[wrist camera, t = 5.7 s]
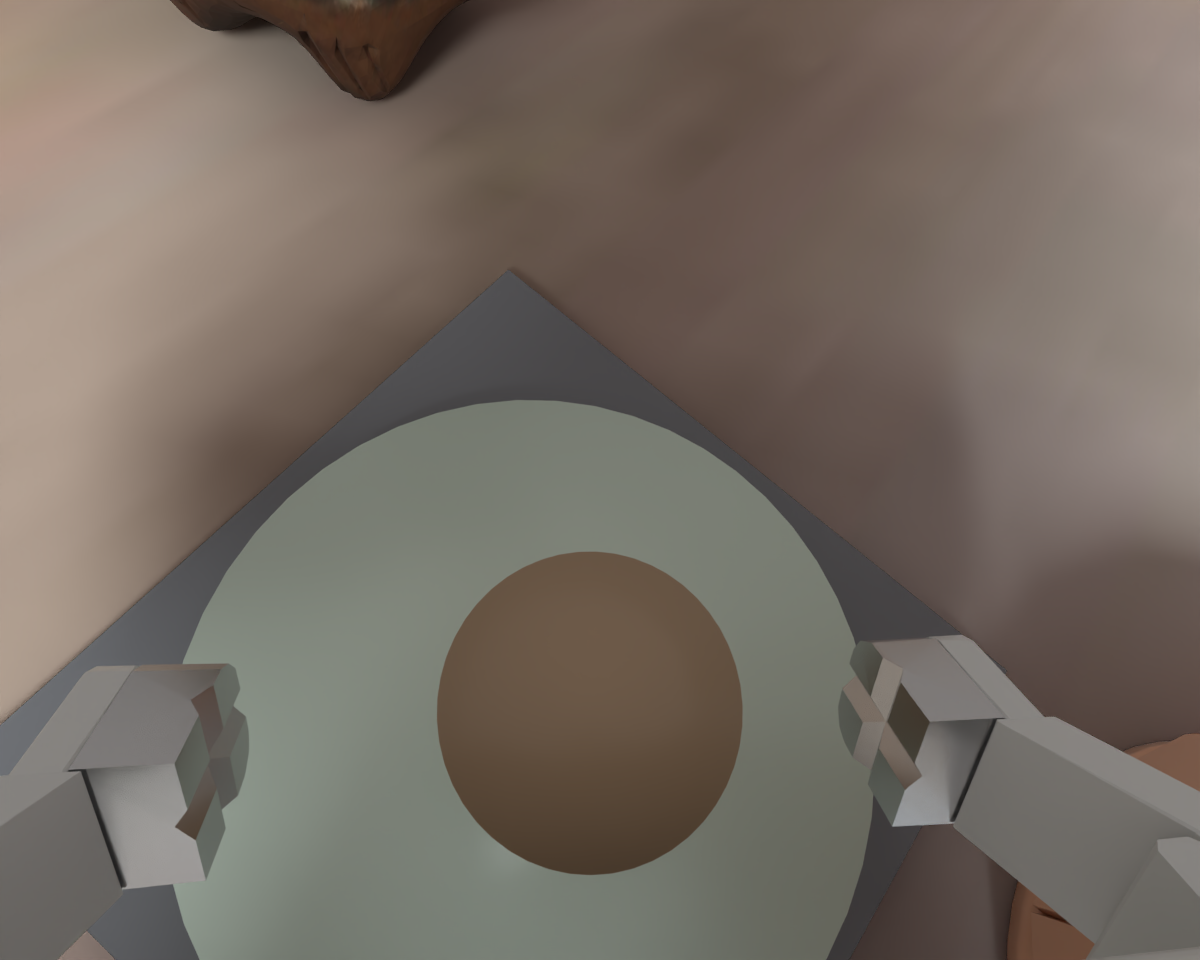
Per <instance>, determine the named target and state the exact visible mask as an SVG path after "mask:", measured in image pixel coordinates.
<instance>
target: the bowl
mask: <svg viewBox="0 0 1200 960" xmlns="http://www.w3.org/2000/svg"><path fill="white" fill-rule="evenodd" d="M1122 752H1124V753H1126V754H1128V755H1130V756H1132V757H1134V758H1136V759H1138V760H1140V761H1142V762H1143V763H1145V764H1147V765H1149V766H1151V767H1153V768H1155V769H1157V770H1159V771H1161V772H1163V773H1165V774H1167V775H1169V776H1170V777H1172V778H1174V779H1176V780H1178V781H1180V782H1182V783H1184V784H1186V785H1188V786H1190V787H1192V788H1194V789H1196V790H1197V791H1199V792H1200V733H1190V734H1184V735H1182V736H1180V737H1178V738H1176V739H1174V740H1172V741H1159V742H1154V743H1150V744H1145V745H1140V746H1136V747H1132V748H1130V749H1127V750H1125V751H1122ZM1094 945H1095V944H1094V943H1093V942H1092V941H1091V940H1089V939H1088V938H1087V937H1086V936H1085V935H1083V934H1082V933H1081V932H1080V931H1079V930H1077V929H1076V928H1075V927H1074V926H1072V925H1071V924H1070V923H1069V922H1068V921H1066V920H1065V919H1064V918H1063V917H1062V916H1060V915H1059V914H1058V913H1057V912H1055V911H1054V910H1053V909H1052V908H1051V907H1049V906H1048V905H1047V904H1046V903H1045V902H1043V901H1042V900H1041V899H1040V898H1038V897H1037V896H1036V895H1035V894H1034V893H1032V892H1031V891H1030V890H1029V889H1028V888H1026V887H1025V886H1024V885H1023V884H1021V883H1020V882H1019V881H1018V883H1017V887H1016V891H1015V895H1014V898H1013V902H1012V909H1011V917H1010V924H1009V932H1008V940H1007V960H1086V958H1087V956H1088V955H1089V953H1090V951H1091V950H1092V948H1093V946H1094Z"/></svg>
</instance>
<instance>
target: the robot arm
mask: <svg viewBox="0 0 1200 960" xmlns="http://www.w3.org/2000/svg"><path fill="white" fill-rule="evenodd" d="M849 664H850V666H851V667H852V669H853V671H854V673H855V674H856V676H855V677H854V678H853V679H852V680H851V681H850V682H849V683H847V684H846V685H845V686H844V687H843V688H842V692H841V696H840V700H839V705H838V715H839V727H840V730H841V733H842V737H843V740H844V743H845V744H846V746H847V748H848V750H849V752H850V754H851V755H852V757H853V758H854V759H856V760H857V761H859V762H860V763H862V764H863V765H864V766H866V767H867V768H869V769H870V770H871V771H870V776H869V781H868V785H869V787H870V789H871V791H872V792H873V794H874V796H875V798H876V799H877V801H878V803H879V805H880V806H881V808H882V810H883V811H884V813H885V815H886V817H887V818H888V820H889V822H890V824H891V825H892V827H894V826H915V825H935V824H954V825H953V828H955V829H956V830H957V831H958V832H960V833H961V834H962V835H963V836H964V837H966V838H967V839H968V840H969V841H970V842H972V843H973V844H974V845H975V846H977V847H978V848H979V849H980V850H981V851H983V852H984V853H985V854H986V855H987V856H989V857H990V858H991V859H992V860H994V861H995V862H996V863H997V864H998V865H1000V866H1001V867H1002V868H1003V869H1004V870H1006V871H1007V872H1008V873H1009V874H1011V875H1012V876H1013V877H1014V878H1015V879H1017V880H1018V881H1019V882H1020V883H1021V884H1023V885H1024V886H1025V887H1026V888H1028V889H1029V890H1030V891H1031V892H1032V893H1034V894H1035V895H1036V896H1037V897H1038V898H1040V899H1041V900H1042V901H1043V902H1045V903H1046V904H1047V905H1048V906H1049V907H1051V908H1052V909H1053V910H1054V911H1055V912H1057V913H1058V914H1059V915H1060V916H1062V917H1063V918H1064V919H1065V920H1066V921H1068V922H1069V923H1070V924H1071V925H1072V926H1074V927H1075V928H1076V929H1077V930H1079V931H1080V932H1081V933H1082V934H1083V935H1085V936H1086V937H1087V938H1088V939H1089V940H1091V941H1092V942H1093V943H1094V944H1095V945H1094V946H1093V948H1092V950H1091V951H1090V953H1089V955H1088V956H1087V958H1086V960H1200V792H1199V791H1197V790H1196V789H1194V788H1192V787H1190V786H1188V785H1186V784H1184V783H1182V782H1180V781H1178V780H1176V779H1174V778H1172V777H1170V776H1169V775H1167V774H1165V773H1163V772H1161V771H1159V770H1157V769H1155V768H1153V767H1151V766H1149V765H1147V764H1145V763H1143V762H1142V761H1140V760H1138V759H1136V758H1134V757H1132V756H1130V755H1128V754H1126V753H1124V752H1122V751H1120V750H1118V749H1116V748H1115V747H1113V746H1111V745H1109V744H1107V743H1105V742H1103V741H1101V740H1099V739H1097V738H1095V737H1093V736H1091V735H1089V734H1088V733H1086V732H1084V731H1082V730H1080V729H1078V728H1076V727H1074V726H1072V725H1070V724H1068V723H1066V722H1064V721H1062V720H1061V719H1059V718H1057V717H1044V716H1043V715H1042V714H1041V713H1040V712H1039V711H1038V710H1037V709H1036V708H1035V706H1034V705H1033V704H1032V703H1031V702H1030V701H1029V700H1028V699H1027V698H1026V697H1025V696H1024V695H1023V694H1022V693H1021V691H1020V690H1019V689H1018V688H1017V687H1016V686H1015V685H1014V684H1013V683H1012V682H1011V681H1010V680H1009V679H1008V678H1007V676H1006V675H1005V674H1004V673H1003V672H1002V671H1001V670H1000V669H999V668H998V667H997V666H996V665H995V664H994V663H993V661H992V660H991V659H990V658H989V657H988V656H987V655H986V654H985V653H984V652H983V651H982V650H981V649H980V648H979V646H978V645H977V644H976V643H975V642H974V641H973V640H971V639H969V638H967V637H965V636H963V635H950V636H933V637H927V638H908V639H885V640H862V641H860V642H859V643H858V644H857V645H856V647H855V648H854V649H853V653H852V656H851V659H850V663H849ZM239 691H240V685H239V681H238V677H237V673H236V668H235V667H233V666H232V665H230V664H229V663H224V664H158V665H141V666H96V667H94V668H93V669H91V670H89V671H87V672H85V673H84V674H83V675H82V677H81V678H80V679H79V681H78V682H77V683H76V685H75V686H74V687H73V689H72V690H71V691H70V693H69V694H68V695H67V697H66V698H65V700H64V701H63V702H62V704H61V705H60V706H59V708H58V709H57V710H56V712H55V713H54V714H53V716H52V717H51V718H50V720H49V721H48V723H47V724H46V725H45V727H44V728H43V729H42V731H41V732H40V733H39V735H38V736H37V737H36V739H35V740H34V741H33V743H32V744H31V745H30V747H29V748H28V750H27V751H26V752H25V754H24V755H23V756H22V758H21V759H20V760H19V762H18V763H17V764H16V766H15V767H14V768H13V770H12V771H11V773H10V774H9V775H3V776H0V960H57V959H58V958H59V957H60V956H61V955H62V954H63V953H64V952H65V951H66V950H67V949H68V948H69V947H70V946H71V945H72V944H73V943H74V942H75V941H76V940H77V939H78V938H79V937H81V936H82V935H83V934H84V933H85V932H86V931H87V930H88V929H89V928H90V927H91V926H92V925H93V924H94V923H95V922H96V921H97V920H98V919H99V918H100V917H101V916H102V915H103V914H104V913H105V912H106V911H107V910H108V909H109V908H110V907H111V906H112V905H113V904H114V903H115V902H116V901H117V900H118V899H119V898H120V897H121V896H122V895H123V891H122V890H123V889H132V888H141V887H151V886H160V885H170V884H179V883H189V882H198V881H206V879H207V877H208V874H209V871H210V869H211V866H212V863H213V861H214V858H215V856H216V853H217V850H218V848H219V845H220V842H221V840H222V837H223V834H224V832H225V829H226V827H225V823H224V818H223V814H222V809H223V808H224V807H225V806H226V805H228V804H229V803H230V802H231V801H232V800H234V799H235V798H236V797H237V796H238V794H239V791H240V788H241V786H242V783H243V780H244V777H245V773H246V767H247V761H248V755H249V730H248V725H247V719H246V716H245V715H244V714H242V713H241V712H240V711H239V710H238V709H236V708H235V707H234V706H233V705H234V703H235V700H236V698H237V696H238V693H239Z"/></svg>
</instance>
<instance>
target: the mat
mask: <svg viewBox="0 0 1200 960" xmlns="http://www.w3.org/2000/svg"><path fill="white" fill-rule="evenodd" d="M512 400H543V401H562V402H569V403H576V404H584V405H591V406H597V407H601V408H604V409H608V410H612V411H616V412H620V413H624V414H627V415H631V416H634V417H637V418H640V419H642V420H645V421H647V422H650V423H652V424H655V425H657V426H660V427H663V428H665V429H668V430H670V431H672V432H674V433H676V434H677V435H679V436H681V437H683V438H685V439H687V440H689V441H691V442H692V443H694V444H696V445H698V446H700V447H702V448H704V449H705V450H707V451H708V452H709V453H711V454H712V455H714V456H715V457H717V458H718V459H720V460H721V461H722V462H724V463H725V464H727V465H728V466H730V467H731V468H733V469H734V470H735V471H737V472H738V473H739V474H740V475H741V476H742V477H744V478H745V479H746V480H747V481H748V482H749V483H750V484H751V485H753V486H754V487H755V488H756V489H757V490H758V491H759V492H761V493H762V494H763V495H764V496H765V497H766V498H767V499H768V500H769V501H770V502H771V503H772V505H773V506H774V507H775V508H776V509H777V510H778V511H779V512H780V513H781V515H782V516H783V517H784V518H785V519H786V520H787V521H788V522H789V523H790V525H791V526H792V527H793V528H794V529H795V531H796V532H797V534H798V535H799V536H800V538H801V539H802V541H803V542H804V543H805V545H806V546H807V548H808V549H809V551H810V552H811V553H812V555H813V556H814V558H815V559H816V560H817V562H818V564H819V566H820V567H821V569H822V571H823V573H824V575H825V577H826V578H827V580H828V582H829V584H830V586H831V587H832V589H833V591H834V593H835V595H836V596H837V599H838V601H839V603H840V606H841V608H842V611H843V613H844V615H845V618H846V620H847V623H848V625H849V628H850V630H851V632H852V635H853V637H854V641H855V644H856V645H857V644H858V643H859V642H860V641H862V640H885V639H908V638H927V637H933V636H950V635H962V634H961V633H960V632H958V631H957V630H956V629H955V628H954V627H952V626H951V625H950V624H949V623H947V622H946V621H945V620H944V619H942V618H941V617H940V616H939V615H937V614H936V613H935V612H934V611H932V610H931V609H930V608H929V607H927V606H926V605H925V604H924V603H922V602H921V601H920V600H919V599H917V598H916V597H915V596H914V595H912V594H911V593H910V592H909V591H907V590H906V589H905V588H904V587H903V586H901V585H900V584H899V583H898V582H896V581H895V580H894V579H893V578H891V577H890V576H889V575H888V574H886V573H885V572H884V571H883V570H881V569H880V568H879V567H878V566H876V565H875V564H874V563H873V562H871V561H870V560H869V559H868V558H866V557H865V556H864V555H863V554H861V553H860V552H859V551H858V550H856V549H855V548H854V547H853V546H851V545H850V544H849V543H848V542H847V541H845V540H844V539H843V538H842V537H840V536H839V535H838V534H837V533H835V532H834V531H833V530H832V529H830V528H829V527H828V526H827V525H825V524H824V523H823V522H822V521H820V520H819V519H818V518H817V517H815V516H814V515H813V514H812V513H810V512H809V511H808V510H807V509H805V508H804V507H803V506H802V505H800V504H799V503H798V502H797V501H796V500H794V499H793V498H792V497H791V496H789V495H788V494H787V493H786V492H784V491H783V490H782V489H781V488H779V487H778V486H777V485H776V484H774V483H773V482H772V481H771V480H769V479H768V478H767V477H766V476H764V475H763V474H762V473H761V472H759V471H758V470H757V469H756V468H754V467H753V466H752V465H751V464H749V463H748V462H747V461H746V460H745V459H743V458H742V457H741V456H740V455H738V454H737V453H736V452H735V451H733V450H732V449H731V448H730V447H728V446H727V445H726V444H725V443H723V442H722V441H721V440H720V439H718V438H717V437H716V436H715V435H713V434H712V433H711V432H710V431H708V430H707V429H706V428H705V427H703V426H702V425H701V424H700V423H698V422H697V421H696V420H695V419H694V418H692V417H691V416H690V415H689V414H687V413H686V412H685V411H684V410H682V409H681V408H680V407H679V406H677V405H676V404H675V403H674V402H672V401H671V400H670V399H669V398H667V397H666V396H665V395H664V394H662V393H661V392H660V391H659V390H657V389H656V388H655V387H654V386H652V385H651V384H650V383H649V382H647V381H646V380H645V379H644V378H643V377H641V376H640V375H639V374H638V373H636V372H635V371H634V370H633V369H631V368H630V367H629V366H628V365H626V364H625V363H624V362H623V361H621V360H620V359H619V358H618V357H616V356H615V355H614V354H613V353H611V352H610V351H609V350H608V349H606V348H605V347H604V346H603V345H601V344H600V343H599V342H598V341H596V340H595V339H594V338H593V337H592V336H590V335H589V334H588V333H587V332H585V331H584V330H583V329H582V328H580V327H579V326H578V325H577V324H575V323H574V322H573V321H572V320H570V319H569V318H568V317H567V316H565V315H564V314H563V313H562V312H560V311H559V310H558V309H557V308H555V307H554V306H553V305H552V304H550V303H549V302H548V301H547V300H545V299H544V298H543V297H542V296H540V295H539V294H538V293H537V292H536V291H534V290H533V289H532V288H531V287H529V286H528V285H527V284H526V283H524V282H523V281H522V280H521V279H519V278H518V277H517V276H516V275H514V274H513V273H512V272H511V271H509V270H508V271H506V272H505V273H504V274H503V275H502V276H501V277H500V278H499V279H497V280H496V281H495V282H494V283H493V284H492V285H491V286H490V287H489V288H487V289H486V290H485V291H484V292H483V293H482V294H481V295H480V296H479V297H477V298H476V299H475V300H474V301H473V302H472V303H471V304H470V305H468V306H467V307H466V308H465V309H464V310H463V311H462V312H461V313H460V314H458V315H457V316H456V317H455V318H454V319H453V320H452V321H451V322H450V323H448V324H447V325H446V326H445V327H444V328H443V329H442V330H441V331H439V332H438V333H437V334H436V335H435V336H434V337H433V338H432V339H431V340H429V341H428V342H427V343H426V344H425V345H424V346H423V347H422V348H421V349H419V350H418V351H417V352H416V353H415V354H414V355H413V356H412V357H411V358H409V359H408V360H407V361H406V362H405V363H404V364H403V365H402V366H400V367H399V368H398V369H397V370H396V371H395V372H394V373H393V374H392V375H390V376H389V377H388V378H387V379H386V380H385V381H384V382H383V383H382V384H380V385H379V386H378V387H377V388H376V389H375V390H374V391H373V392H371V393H370V394H369V395H368V396H367V397H366V398H365V399H364V400H363V401H361V402H360V403H359V404H358V405H357V406H356V407H355V408H354V409H353V410H351V411H350V412H349V413H348V414H347V415H346V416H345V417H344V418H342V419H341V420H340V421H339V422H338V423H337V424H336V425H335V426H334V427H332V428H331V429H330V430H329V431H328V432H327V433H326V434H325V435H324V436H322V437H321V438H320V439H319V440H318V441H317V442H316V443H315V444H313V445H312V446H311V447H310V448H309V449H308V450H307V451H306V452H305V453H303V454H302V455H301V456H300V457H299V458H298V459H297V460H296V461H295V462H293V463H292V464H291V465H290V466H289V467H288V468H287V469H286V470H284V471H283V472H282V473H281V474H280V475H279V476H278V477H277V478H276V479H274V480H273V481H272V482H271V483H270V484H269V485H268V486H267V487H266V488H264V489H263V490H262V491H261V492H260V493H259V494H258V495H257V496H256V497H254V498H253V499H252V500H251V501H250V502H249V503H248V504H247V505H245V506H244V507H243V508H242V509H241V510H240V511H239V512H238V513H237V514H235V515H234V516H233V517H232V518H231V519H230V520H229V521H228V522H227V523H225V524H224V525H223V526H222V527H221V528H220V529H219V530H218V531H216V532H215V533H214V534H213V535H212V536H211V537H210V538H209V539H208V540H206V541H205V542H204V543H203V544H202V545H201V546H200V547H199V548H198V549H196V550H195V551H194V552H193V553H192V554H191V555H190V556H189V557H187V558H186V559H185V560H184V561H183V562H182V563H181V564H180V565H179V566H177V567H176V568H175V569H174V570H173V571H172V572H171V573H170V574H169V575H167V576H166V577H165V578H164V579H163V580H162V581H161V582H160V583H158V584H157V585H156V586H155V587H154V588H153V589H152V590H151V591H150V592H148V593H147V594H146V595H145V596H144V597H143V598H142V599H141V600H140V601H138V602H137V603H136V604H135V605H134V606H133V607H132V608H131V609H129V610H128V611H127V612H126V613H125V614H124V615H123V616H122V617H121V618H119V619H118V620H117V621H116V622H115V623H114V624H113V625H112V626H111V627H109V628H108V629H107V630H106V631H105V632H104V633H103V634H102V635H101V636H99V637H98V638H97V639H96V640H95V641H94V642H93V643H92V644H90V645H89V646H88V647H87V648H86V649H85V650H84V651H83V652H82V653H80V654H79V655H78V656H77V657H76V658H75V659H74V660H73V661H72V662H70V663H69V664H68V665H67V666H66V667H65V668H64V669H63V670H61V671H60V672H59V673H58V674H57V675H56V676H55V677H54V678H53V679H51V680H50V681H49V682H48V683H47V684H46V685H45V686H44V687H43V688H41V689H40V690H39V691H38V692H37V693H36V694H35V695H34V696H32V697H31V698H30V699H29V700H28V701H27V702H26V703H25V704H24V705H22V706H21V707H20V708H19V709H18V710H17V711H16V712H15V713H14V714H12V715H11V716H10V717H9V718H8V719H7V720H6V721H5V722H3V723H2V724H1V725H0V776H3V775H9V774H10V773H11V771H12V770H13V768H14V767H15V766H16V764H17V763H18V762H19V760H20V759H21V758H22V756H23V755H24V754H25V752H26V751H27V750H28V748H29V747H30V745H31V744H32V743H33V741H34V740H35V739H36V737H37V736H38V735H39V733H40V732H41V731H42V729H43V728H44V727H45V725H46V724H47V723H48V721H49V720H50V718H51V717H52V716H53V714H54V713H55V712H56V710H57V709H58V708H59V706H60V705H61V704H62V702H63V701H64V700H65V698H66V697H67V695H68V694H69V693H70V691H71V690H72V689H73V687H74V686H75V685H76V683H77V682H78V681H79V679H80V678H81V677H82V675H83V674H84V673H85V672H87V671H89V670H91V669H93V668H94V667H96V666H141V665H158V664H183V660H184V658H185V655H186V653H187V651H188V648H189V646H190V643H191V641H192V638H193V636H194V634H195V631H196V629H197V626H198V624H199V622H200V619H201V617H202V614H203V612H204V611H205V609H206V607H207V605H208V603H209V602H210V600H211V598H212V596H213V595H214V593H215V591H216V589H217V588H218V586H219V584H220V582H221V581H222V579H223V577H224V575H225V573H226V572H227V570H228V569H229V567H230V566H231V565H232V563H233V562H234V561H235V559H236V558H237V557H238V555H239V554H240V553H241V551H242V550H243V548H244V547H245V546H246V544H247V543H248V542H249V540H250V539H251V538H252V536H253V535H254V534H255V532H256V531H257V530H258V529H259V528H260V527H261V526H262V525H263V524H264V523H265V522H266V521H267V520H268V518H269V517H270V516H271V515H272V514H273V513H274V512H275V511H276V510H277V509H278V508H279V507H280V506H281V505H282V504H283V503H284V502H285V501H286V499H287V498H289V497H290V496H291V495H292V494H293V493H295V492H296V491H297V490H298V489H299V488H301V487H302V486H303V485H304V484H305V483H307V482H308V481H309V480H310V479H311V478H313V477H314V476H315V475H316V474H317V473H319V472H320V471H321V470H322V469H324V468H325V467H327V466H328V465H330V464H331V463H333V462H335V461H336V460H338V459H339V458H341V457H342V456H344V455H345V454H347V453H348V452H350V451H352V450H353V449H355V448H356V447H358V446H359V445H361V444H363V443H365V442H367V441H369V440H371V439H374V438H376V437H378V436H380V435H382V434H384V433H386V432H388V431H390V430H392V429H394V428H396V427H398V426H401V425H404V424H407V423H410V422H412V421H415V420H418V419H421V418H424V417H427V416H430V415H432V414H435V413H439V412H443V411H448V410H452V409H457V408H461V407H466V406H470V405H475V404H482V403H492V402H502V401H512ZM984 653H985V652H984ZM985 654H986V653H985ZM986 655H987V654H986ZM987 656H988V655H987ZM988 657H989V658H990V659H991V660H992V661H993V663H994V664H995V665H996V666H997V667H998V668H999V669H1000V670H1001V671H1002V672H1003V673H1004V674H1005V673H1006V671H1007V670H1006V669H1005V668H1003V667H1002V666H1001V665H1000V664H998V663H997V662H996V661H995V660H993V659H992V658H991V657H990V656H988ZM921 827H922V825H915V826H894V827H892V825H891V824H890V822H889V820H888V818H887V817H886V815H885V813H884V811H883V810H882V808H881V806H880V805H879V803H878V801H877V799H876V798H875V796H874V794H873V807H872V819H871V824H870V830H869V835H868V840H867V845H866V851H865V856H864V861H863V866H862V869H861V872H860V876H859V879H858V882H857V885H856V888H855V891H854V895H853V898H852V901H851V904H850V907H849V910H848V913H847V916H846V918H845V920H844V922H843V924H842V926H841V929H840V931H839V933H838V935H837V937H836V939H835V942H834V944H833V946H832V948H831V950H830V953H829V955H828V957H827V959H826V960H849V959H850V957H851V955H852V954H853V952H854V950H855V948H856V946H857V944H858V943H859V941H860V939H861V937H862V935H863V933H864V932H865V930H866V928H867V926H868V924H869V922H870V921H871V919H872V917H873V915H874V913H875V911H876V910H877V908H878V906H879V904H880V902H881V900H882V899H883V897H884V895H885V893H886V891H887V889H888V888H889V886H890V884H891V882H892V880H893V878H894V877H895V875H896V873H897V871H898V869H899V867H900V866H901V864H902V862H903V860H904V858H905V856H906V855H907V853H908V851H909V849H910V847H911V845H912V844H913V842H914V840H915V838H916V836H917V835H918V833H919V831H920V829H921ZM122 891H123V895H122V896H121V897H120V898H119V899H118V900H117V901H116V902H115V903H114V904H113V905H112V906H111V907H110V908H109V909H108V910H107V911H106V912H105V913H104V914H103V915H102V916H101V917H100V918H99V919H98V920H97V921H96V922H95V923H94V924H93V925H92V926H91V927H90V928H89V929H88V930H87V931H88V932H89V933H90V934H91V935H92V936H93V937H94V938H95V939H96V940H97V941H98V942H99V943H100V944H101V945H102V946H103V947H104V948H105V949H106V950H107V951H108V952H109V953H110V954H111V955H112V956H113V957H114V958H115V959H116V960H200V959H199V957H198V955H197V953H196V950H195V948H194V946H193V944H192V941H191V939H190V937H189V934H188V932H187V930H186V928H185V925H184V923H183V919H182V915H181V912H180V908H179V904H178V901H177V897H176V894H175V890H174V886H173V884H170V885H160V886H151V887H141V888H132V889H123V890H122Z"/></svg>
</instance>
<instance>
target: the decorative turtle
mask: <svg viewBox="0 0 1200 960" xmlns="http://www.w3.org/2000/svg"><path fill="white" fill-rule="evenodd" d="M170 1H171V2H172V3H173V4H174V5H175V6H176V7H177V8H178V9H179V10H180V11H181V12H182V13H183V14H184V15H186V16H187V17H188V18H189V19H190V20H191V21H192V22H194V23H195V24H197V25H198V26H200V27H201V28H205V29H208V30H212V31H220V30H228V29H233V28H236V27H238V26H240V25H242V24H244V23H246V22H247V21H249V20H251V19H253V18H254V17H259V18H262V19H264V20H266V21H268V22H270V23H272V24H274V25H276V26H277V27H279V28H281V29H283V30H284V31H286V32H287V33H289V34H290V35H292V36H293V37H295V38H296V39H297V40H298V41H299V42H300V43H301V44H302V45H303V46H304V47H305V48H306V49H307V50H308V52H309V53H310V54H311V55H312V56H313V57H314V58H315V60H316V61H317V62H318V63H319V65H320V66H321V67H322V68H323V69H324V71H325V72H326V73H327V74H328V75H329V77H330V78H331V79H332V80H333V81H334V82H335V83H336V84H337V85H338V86H339V88H340V89H341V90H343V91H346V92H349V93H351V94H352V95H353V96H354V97H355V98H359V99H363V100H367V101H373V100H379V99H382V98H383V97H385V96H386V95H388V94H389V93H390V92H391V91H392V89H393V88H394V87H395V86H396V85H397V84H398V83H399V82H400V80H401V79H402V78H403V76H404V75H405V73H406V71H407V70H408V68H409V66H410V64H411V63H412V61H413V59H414V57H415V56H416V54H417V52H418V50H419V49H420V47H421V45H422V44H423V43H424V41H425V40H426V38H427V37H428V36H429V34H430V33H431V31H432V30H433V29H434V27H435V26H436V25H437V24H438V23H439V22H440V21H441V20H442V19H443V18H444V16H445V15H447V14H448V13H449V12H450V11H451V10H453V9H454V8H456V7H457V6H459V5H460V4H462V3H464V2H466V1H469V0H170Z"/></svg>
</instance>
